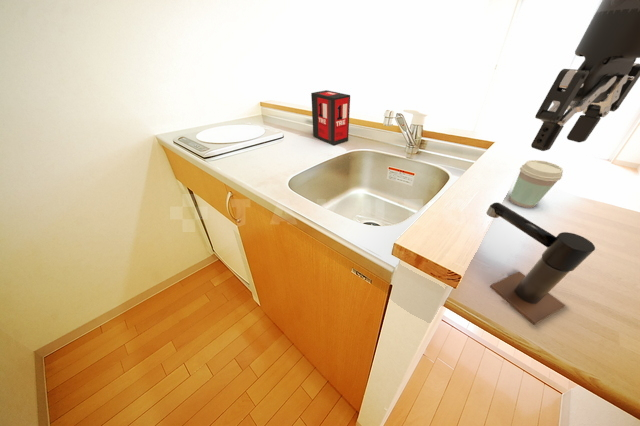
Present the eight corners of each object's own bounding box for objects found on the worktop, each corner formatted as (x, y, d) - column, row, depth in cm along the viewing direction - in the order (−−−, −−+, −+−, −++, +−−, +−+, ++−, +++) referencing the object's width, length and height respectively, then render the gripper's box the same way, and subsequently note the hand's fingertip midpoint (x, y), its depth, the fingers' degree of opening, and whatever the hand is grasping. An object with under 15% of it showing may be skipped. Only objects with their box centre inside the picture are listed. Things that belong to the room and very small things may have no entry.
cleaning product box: (348, 141, 110) (350, 95, 97) (333, 145, 105) (334, 98, 93) (326, 132, 120) (326, 90, 108) (313, 136, 116) (311, 92, 104)
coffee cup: (546, 212, 62) (575, 173, 55) (515, 213, 63) (539, 174, 55) (525, 195, 69) (548, 158, 62) (496, 196, 69) (516, 159, 62)
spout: (581, 267, 35) (602, 247, 32) (562, 274, 34) (582, 254, 31) (494, 211, 46) (504, 193, 44) (478, 215, 45) (488, 197, 43)
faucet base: (560, 309, 41) (603, 273, 34) (531, 327, 38) (571, 291, 32) (515, 275, 47) (544, 239, 40) (487, 289, 44) (514, 252, 38)
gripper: (658, 0, 21) (554, 162, 31) (728, 1, 25) (615, 145, 35) (564, 9, 27) (501, 144, 37) (633, 9, 31) (559, 131, 40)
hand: (557, 144), depth 36 cm, fingers open, 8 cm apart
